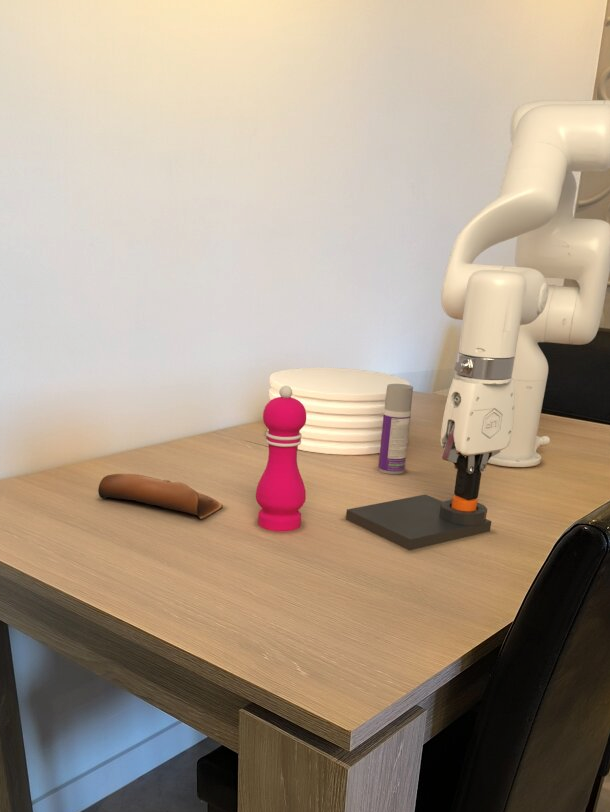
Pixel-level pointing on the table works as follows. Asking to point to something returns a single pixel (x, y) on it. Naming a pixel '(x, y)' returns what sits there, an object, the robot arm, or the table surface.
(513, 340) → the robot arm
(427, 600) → the table surface
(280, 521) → the pepper mill
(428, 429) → the table surface
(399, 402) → the container
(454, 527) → the dark grey flat block
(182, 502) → the sunglasses case
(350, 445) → the plate stack
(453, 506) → the button
